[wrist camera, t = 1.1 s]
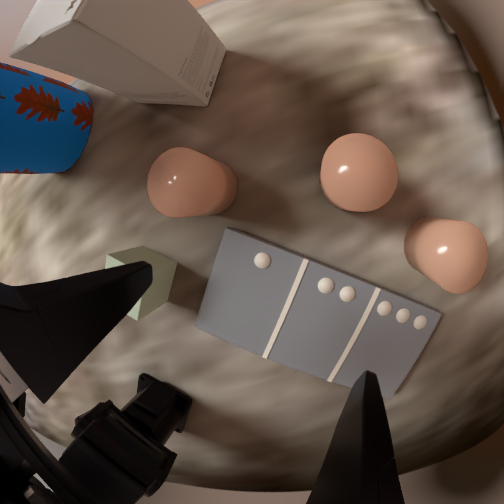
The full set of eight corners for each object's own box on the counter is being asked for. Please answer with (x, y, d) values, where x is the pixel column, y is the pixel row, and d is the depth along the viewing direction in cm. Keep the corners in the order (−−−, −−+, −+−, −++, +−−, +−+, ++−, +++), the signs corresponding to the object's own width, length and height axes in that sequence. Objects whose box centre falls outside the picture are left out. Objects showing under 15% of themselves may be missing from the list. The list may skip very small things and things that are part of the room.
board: (388, 392, 21) (390, 399, 20) (199, 322, 24) (194, 327, 23) (437, 309, 19) (442, 314, 18) (229, 227, 22) (224, 227, 21)
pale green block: (167, 301, 25) (137, 320, 20) (134, 284, 25) (101, 298, 20) (177, 261, 24) (146, 274, 19) (142, 245, 24) (107, 254, 20)
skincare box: (229, 50, 20) (139, -67, 5) (207, 112, 21) (73, 21, 6) (154, 50, 21) (48, -21, 6) (133, 107, 22) (2, 57, 7)
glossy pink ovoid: (227, 222, 22) (196, 227, 16) (180, 204, 23) (139, 205, 17) (244, 169, 21) (219, 156, 15) (196, 155, 22) (159, 140, 16)
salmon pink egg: (365, 219, 20) (383, 224, 14) (311, 198, 20) (310, 194, 15) (383, 166, 19) (406, 151, 13) (329, 145, 19) (334, 121, 14)
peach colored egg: (437, 279, 19) (471, 302, 13) (395, 261, 20) (422, 279, 14) (456, 230, 18) (495, 238, 12) (415, 208, 19) (448, 209, 13)
